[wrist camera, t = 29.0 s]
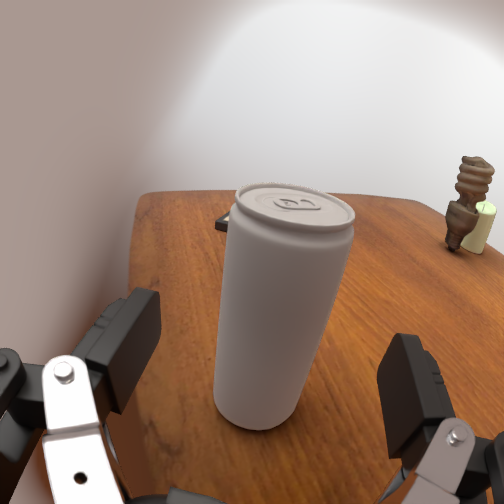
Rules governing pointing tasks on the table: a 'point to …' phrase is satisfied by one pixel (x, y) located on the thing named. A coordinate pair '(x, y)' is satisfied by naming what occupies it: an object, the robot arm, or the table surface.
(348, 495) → the table surface
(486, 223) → the candle
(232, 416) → the beverage can
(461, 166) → the light bulb
